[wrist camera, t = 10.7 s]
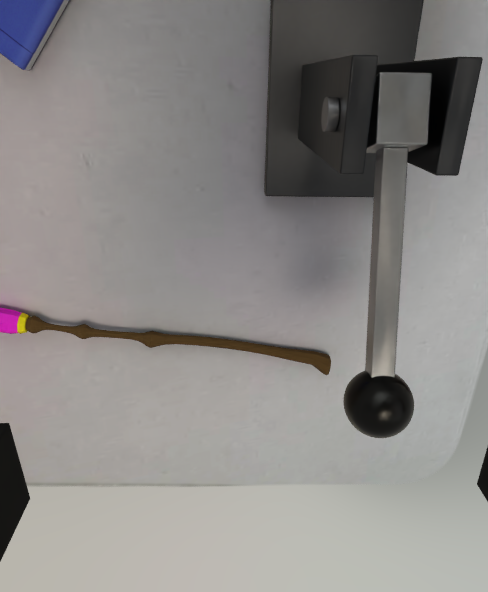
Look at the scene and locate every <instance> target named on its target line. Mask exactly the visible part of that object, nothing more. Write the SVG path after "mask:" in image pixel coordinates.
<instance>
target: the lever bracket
mask: <svg viewBox="0 0 488 592" xmlns="http://www.w3.org/2000/svg"><path fill="white" fill-rule="evenodd" d="M422 6H423V0H271V14H270V43H269V71H268V100H267V129H266V157H265V186H264V192H265V195H266V196H313V197H374V183H375V163H376V153H366V150H367V142H368V134H369V126H370V118H371V110H372V102H373V94H374V86H375V78H376V75H377V74H378V73H380V72H402V73H432V88H431V103H430V118H429V134H428V144H427V145H425V146H422V147H420V148H417V149H415V150H412V151H410V152H408V161H407V162H408V163H410V164H413V165H415V166H417V167H419V168H421V169H424V170H426V171H428V172H430V173H432V174H435V175H455V176H456V175H458V174H459V169H460V164H461V159H462V155H463V150H464V145H465V140H466V136H467V131H468V126H469V121H470V117H471V112H472V107H473V102H474V98H475V93H476V88H477V83H478V79H479V74H480V69H481V64H482V60H483V59H482V58H481V57H452V58H442V59H432V60H422V61H414V58H415V52H416V45H417V39H418V32H419V26H420V19H421V13H422Z"/></svg>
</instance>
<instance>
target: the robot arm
mask: <svg viewBox="0 0 488 592" xmlns="http://www.w3.org/2000/svg"><path fill="white" fill-rule="evenodd" d="M477 485H478V487H479V488H480V490H481V491H482V493H483V494H484V496H485V498H486V499H487V501H488V448H487V451H486V454H485V458H484V462H483V465H482V468H481V472H480V476H479V479H478V483H477ZM29 500H30V496H29V493H28V489H27V486H26V482H25V478H24V475H23V471H22V468H21V464H20V461H19V457H18V454H17V450H16V446H15V443H14V439H13V436H12V432H11V429H10V425H9V423H0V561H1V559H2V557H3V554H4V552H5V551H6V548H7V546H8V544H9V542H10V540H11V538H12V536H13V534H14V531H15V529H16V527H17V525H18V523H19V521H20V519H21V517H22V514H23V512H24V510H25V508H26V506H27V504H28V501H29Z"/></svg>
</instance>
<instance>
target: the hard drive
mask: <svg viewBox="0 0 488 592" xmlns="http://www.w3.org/2000/svg"><path fill="white" fill-rule="evenodd" d="M68 1H69V0H0V53H1V54H2V55H3V56H5V57H6V58H7V59H9V60H10V61H11V62H13V63H14V64H15V65H17V66H18V67H20V68H21V69H23V70H30V69H31V67H32V66H33V64H34V62H35V60H36V58H37V57H38V55H39V53H40V52H41V50H42V48H43V46H44V45H45V43H46V41H47V39H48V37H49V36H50V34H51V32H52V30H53V28H54V27H55V25H56V23H57V21H58V19H59V18H60V16H61V14H62V12H63V10H64V9H65V7H66V5H67V3H68Z"/></svg>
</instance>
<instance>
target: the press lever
mask: <svg viewBox="0 0 488 592" xmlns="http://www.w3.org/2000/svg"><path fill="white" fill-rule="evenodd" d="M431 88H432V73H402V72H380V73H378V74H377V75H376V78H375V86H374V94H373V102H372V110H371V118H370V126H369V134H368V142H367V150H366V153H376V163H375V183H374V203H373V224H372V244H371V264H370V285H369V305H368V325H367V346H366V366H365V371H363V372H361V373H359V374H358V375H356V376H355V377H354V378H353V379H352V380H351V381H350V382H349V384H348V386H347V388H346V390H345V394H344V409H345V412H346V415H347V417H348V419H349V421H350V422H351V423H352V425H353V426H354V427H355V428H356V429H357V430H359V431H360V432H362V433H363V434H365V435H368V436H371V437H375V438H387V437H391V436H394V435H396V434H398V433H400V432H401V431H402V430H404V429H405V428H406V426H407V425H408V424H409V422H410V420H411V418H412V415H413V411H414V400H413V396H412V393H411V391H410V388H409V387H408V385H407V384H406V383H405V381H404V380H403V379H402V378H400V377H399V376H398V375H396V374H395V362H396V345H397V329H398V312H399V295H400V278H401V262H402V245H403V228H404V211H405V195H406V178H407V161H408V152H410V151H412V150H415V149H417V148H420V147H422V146H425V145H427V144H428V134H429V118H430V103H431Z"/></svg>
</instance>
